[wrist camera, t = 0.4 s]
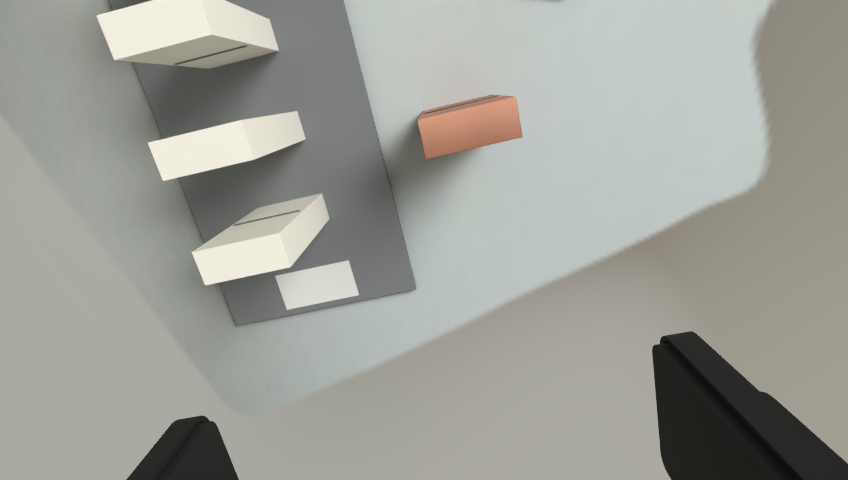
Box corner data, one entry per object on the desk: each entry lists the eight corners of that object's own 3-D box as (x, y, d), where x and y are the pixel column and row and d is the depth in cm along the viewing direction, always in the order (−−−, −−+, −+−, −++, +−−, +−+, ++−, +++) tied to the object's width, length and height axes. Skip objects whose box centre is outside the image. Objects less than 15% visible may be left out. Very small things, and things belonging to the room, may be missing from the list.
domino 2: (229, 126, 33) (147, 141, 24) (297, 110, 33) (240, 118, 23) (239, 155, 34) (163, 182, 24) (305, 140, 33) (254, 160, 24)
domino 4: (422, 110, 33) (417, 119, 23) (492, 94, 33) (515, 95, 23) (428, 140, 34) (426, 160, 24) (497, 124, 33) (522, 138, 24)
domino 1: (198, 37, 31) (95, 14, 22) (269, 18, 31) (195, -13, 21) (210, 69, 32) (114, 61, 22) (279, 51, 31) (212, 35, 22)
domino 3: (257, 207, 35) (191, 251, 25) (321, 192, 34) (278, 232, 25) (266, 233, 35) (205, 286, 26) (329, 219, 35) (291, 268, 26)
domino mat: (77, -93, 30) (71, -96, 29) (302, -160, 28) (300, -164, 28) (238, 323, 38) (236, 326, 38) (416, 286, 37) (415, 289, 37)
